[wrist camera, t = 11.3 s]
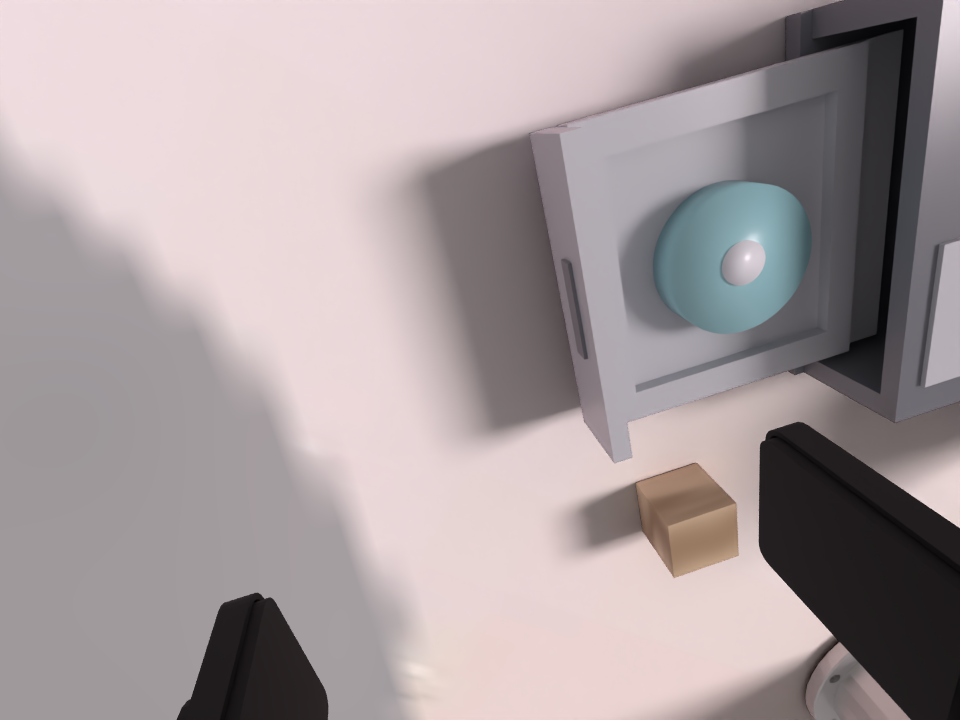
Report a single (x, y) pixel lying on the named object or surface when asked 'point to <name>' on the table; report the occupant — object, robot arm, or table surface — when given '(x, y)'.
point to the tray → (683, 171)
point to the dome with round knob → (732, 255)
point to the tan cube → (688, 519)
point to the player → (906, 209)
